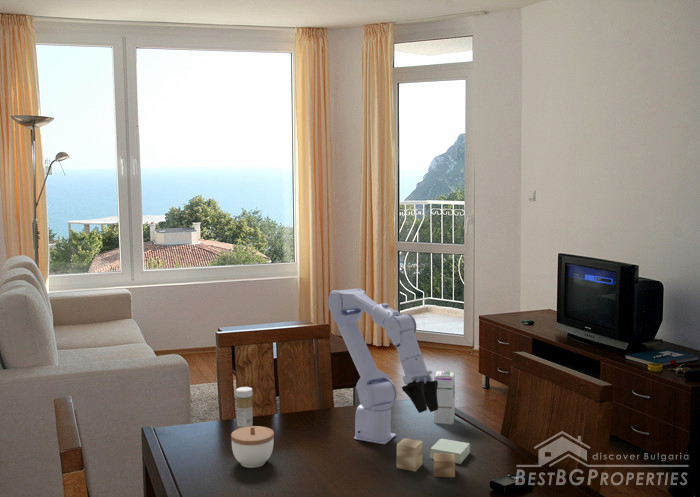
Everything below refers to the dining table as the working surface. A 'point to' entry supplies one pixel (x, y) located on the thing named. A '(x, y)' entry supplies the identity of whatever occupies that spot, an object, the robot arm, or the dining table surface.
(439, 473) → the oak block
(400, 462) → the maple block
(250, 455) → the lidded jar
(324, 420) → the dining table surface
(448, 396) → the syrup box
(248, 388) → the sprinkles bottle
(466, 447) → the plinth block
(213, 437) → the dining table surface
